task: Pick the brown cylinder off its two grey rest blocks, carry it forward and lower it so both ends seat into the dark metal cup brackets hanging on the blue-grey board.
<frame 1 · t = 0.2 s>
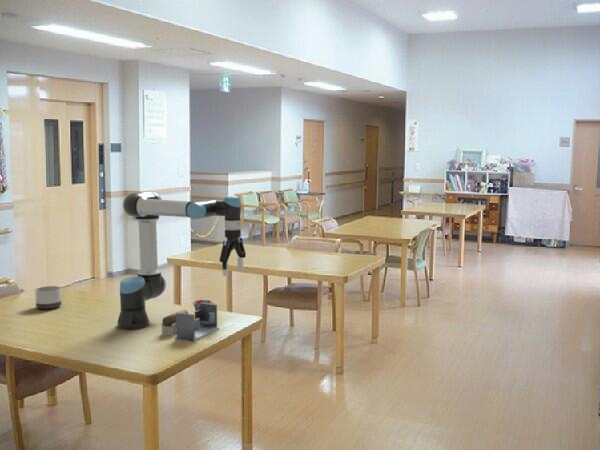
hand: (233, 273, 298), 28 cm above the table, fingers open, 13 cm apart
rest blocks: (175, 330, 300), on the table
brown cylinder: (175, 322, 300), point 4 cm above the table, touching rest blocks
wall board: (197, 333, 295), on the table
planter: (48, 307, 342), on the table
mug: (204, 322, 315), on the table
cup brackets: (197, 333, 295), resting on wall board
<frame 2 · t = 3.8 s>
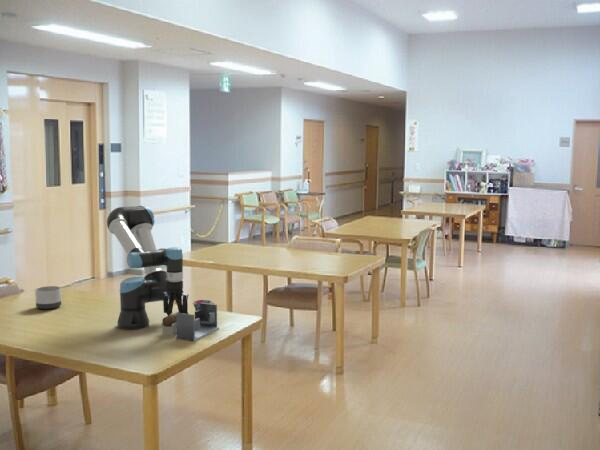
hand: (175, 328, 300), 1 cm above the table, fingers closed on brown cylinder, 4 cm apart
brown cylinder: (175, 322, 300), point 4 cm above the table, touching gripper, rest blocks
everything else where it was.
when the fingers open (4 cm above the table, at t = 8.0 s): brown cylinder drops 2 cm, resting on cup brackets.
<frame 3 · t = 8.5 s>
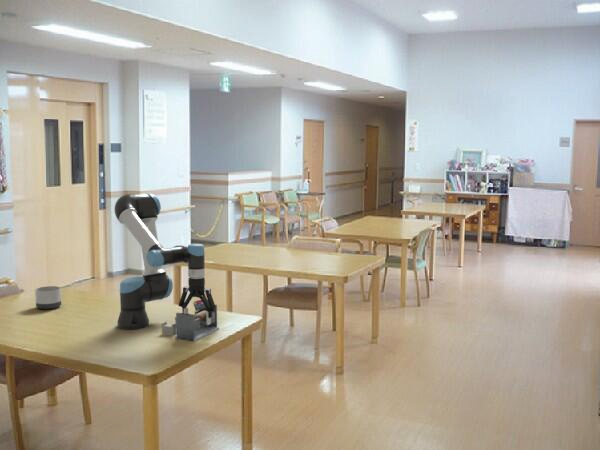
hand: (197, 322, 295), 5 cm above the table, fingers open, 11 cm apart
brown cylinder: (197, 323, 295), point 5 cm above the table, touching cup brackets
everything else where it was.
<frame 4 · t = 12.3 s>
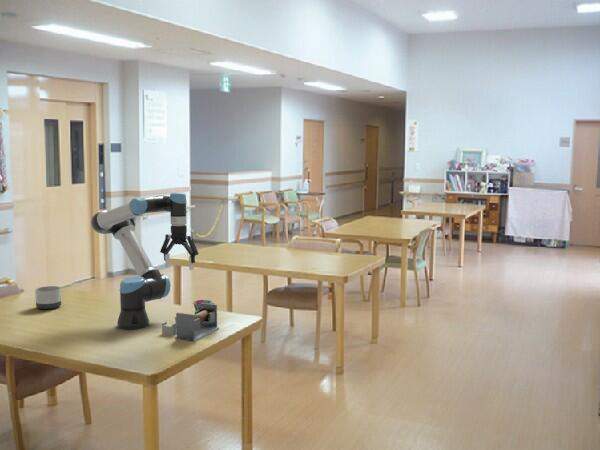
hand: (179, 268, 304), 29 cm above the table, fingers open, 13 cm apart
nothing on the table moved.
at the end: brown cylinder 0.0 cm off-centre on the cup brackets, point 5.0 cm above the cup brackets's base; the gripper is holding nothing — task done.
